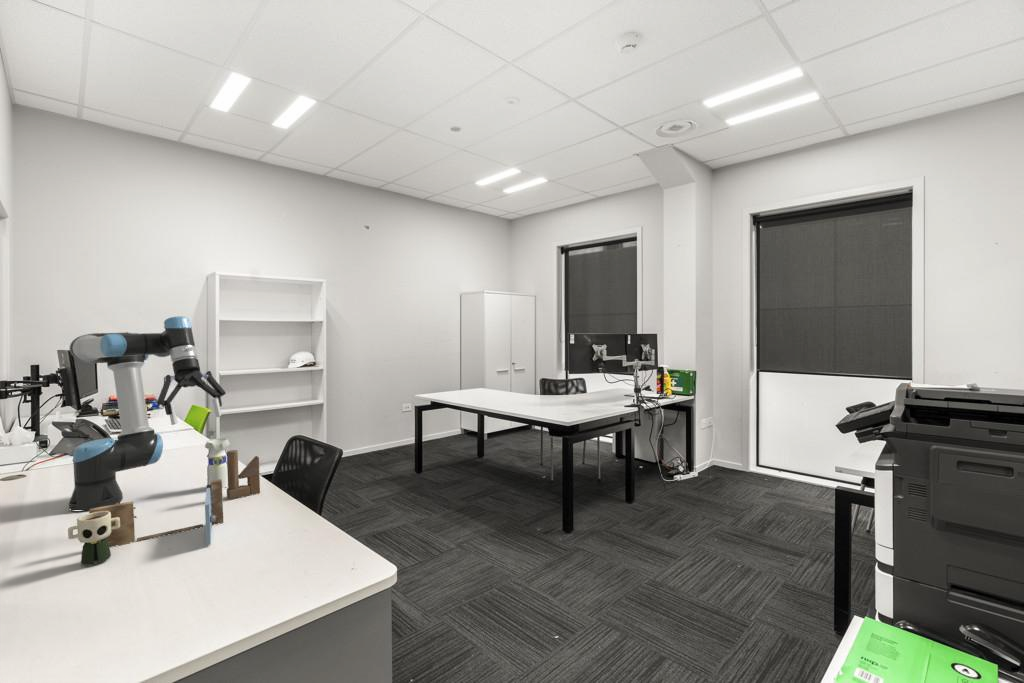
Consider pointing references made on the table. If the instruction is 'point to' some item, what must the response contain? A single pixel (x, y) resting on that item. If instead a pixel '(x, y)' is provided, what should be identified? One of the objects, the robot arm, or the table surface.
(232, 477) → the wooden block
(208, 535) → the door
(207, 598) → the table surface
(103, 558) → the character mug
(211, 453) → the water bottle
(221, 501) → the door frame
